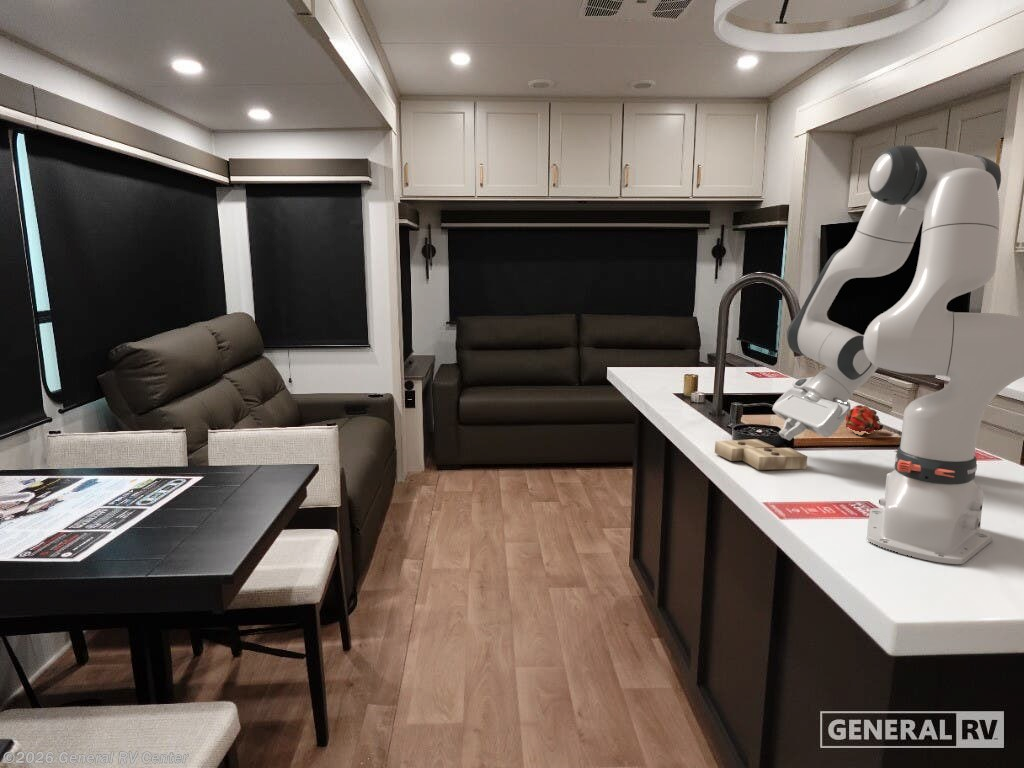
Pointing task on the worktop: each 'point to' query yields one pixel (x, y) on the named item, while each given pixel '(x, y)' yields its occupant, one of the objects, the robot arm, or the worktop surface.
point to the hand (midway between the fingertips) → (783, 437)
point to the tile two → (774, 458)
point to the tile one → (737, 448)
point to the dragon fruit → (863, 419)
